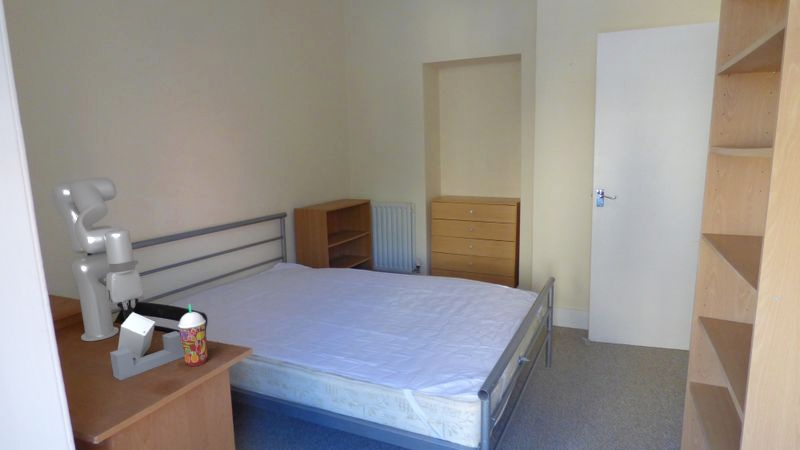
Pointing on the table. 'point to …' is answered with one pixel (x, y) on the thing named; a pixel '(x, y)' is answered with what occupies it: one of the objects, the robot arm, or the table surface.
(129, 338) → the skincare box
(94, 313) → the robot arm
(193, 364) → the smoothie
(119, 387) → the table surface
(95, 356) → the table surface
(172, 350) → the u rest
